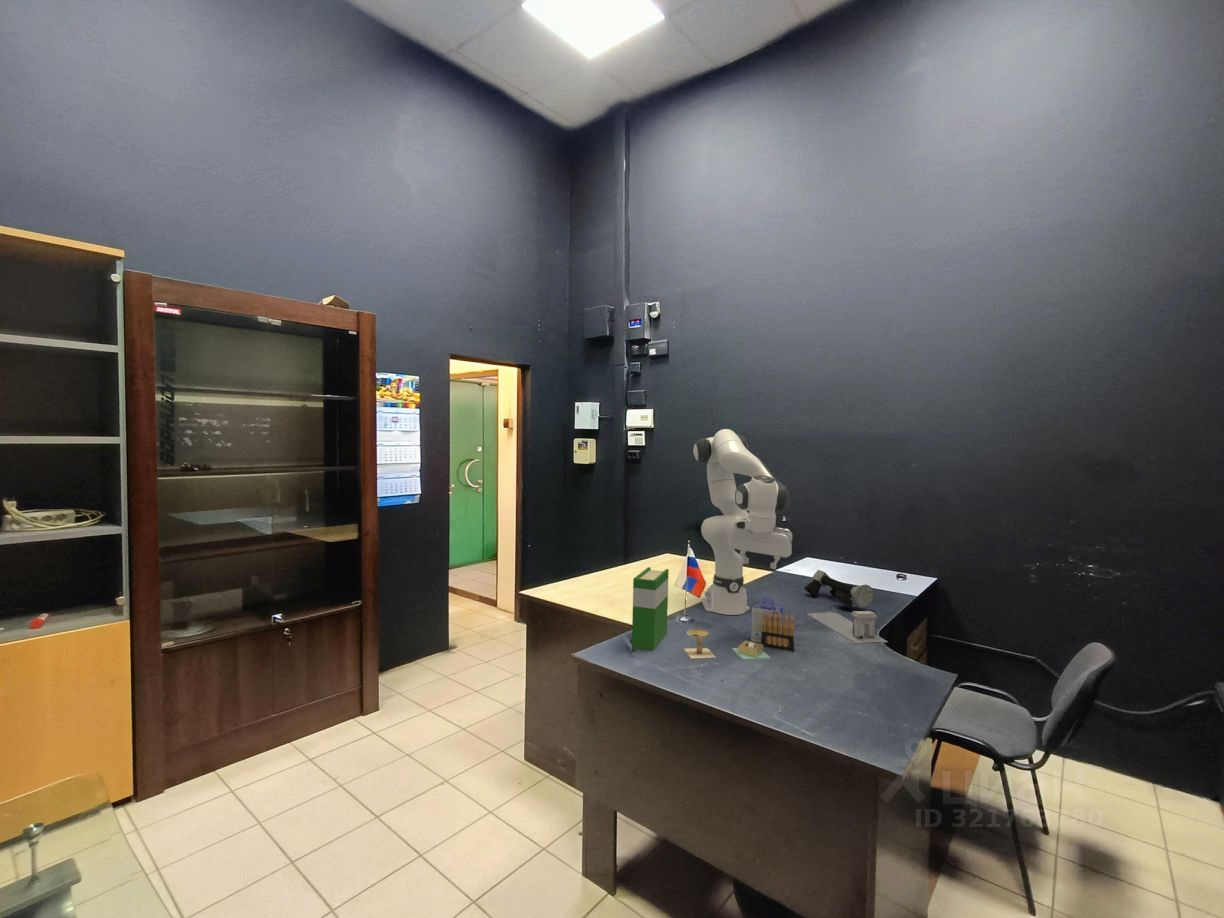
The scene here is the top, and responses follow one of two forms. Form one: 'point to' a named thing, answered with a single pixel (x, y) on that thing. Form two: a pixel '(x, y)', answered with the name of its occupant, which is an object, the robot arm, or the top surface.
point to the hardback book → (649, 609)
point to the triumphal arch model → (851, 625)
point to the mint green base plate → (745, 657)
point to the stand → (699, 650)
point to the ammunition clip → (778, 632)
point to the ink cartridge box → (758, 618)
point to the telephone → (841, 590)
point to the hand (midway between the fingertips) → (759, 566)
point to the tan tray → (750, 649)
